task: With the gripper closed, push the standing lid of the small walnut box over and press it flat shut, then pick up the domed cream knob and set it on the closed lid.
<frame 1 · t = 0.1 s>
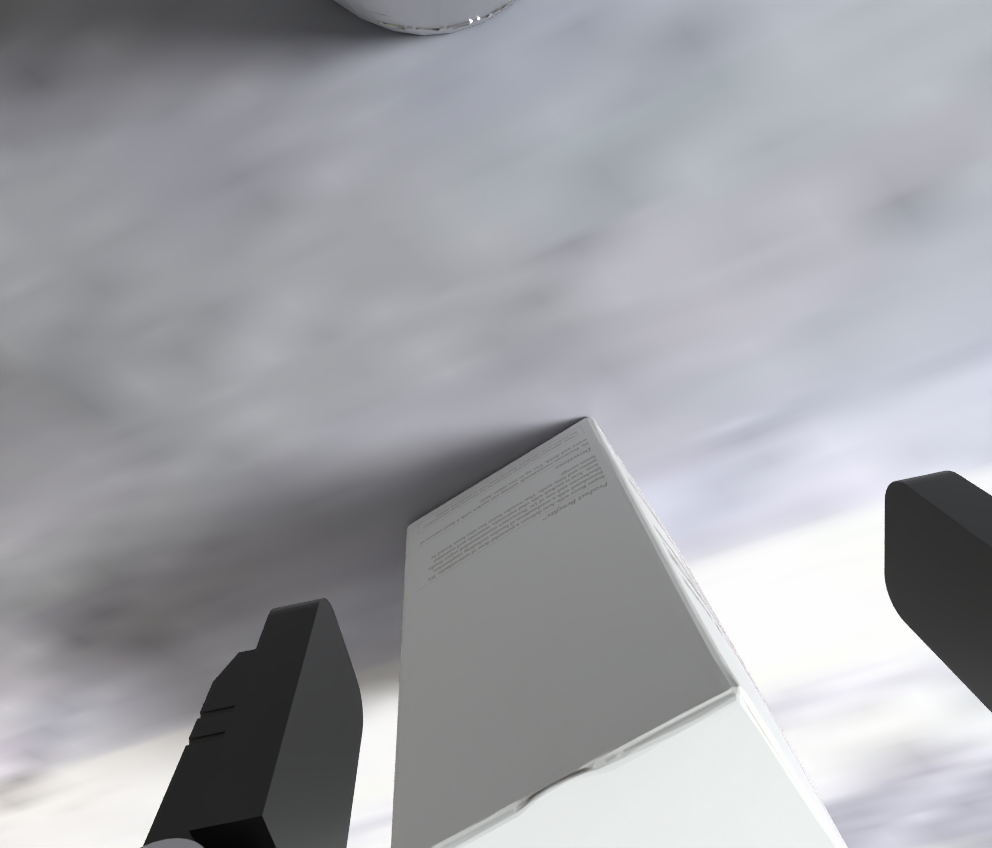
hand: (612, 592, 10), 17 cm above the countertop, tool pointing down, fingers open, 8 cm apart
supplement box: (551, 543, 31), on the countertop
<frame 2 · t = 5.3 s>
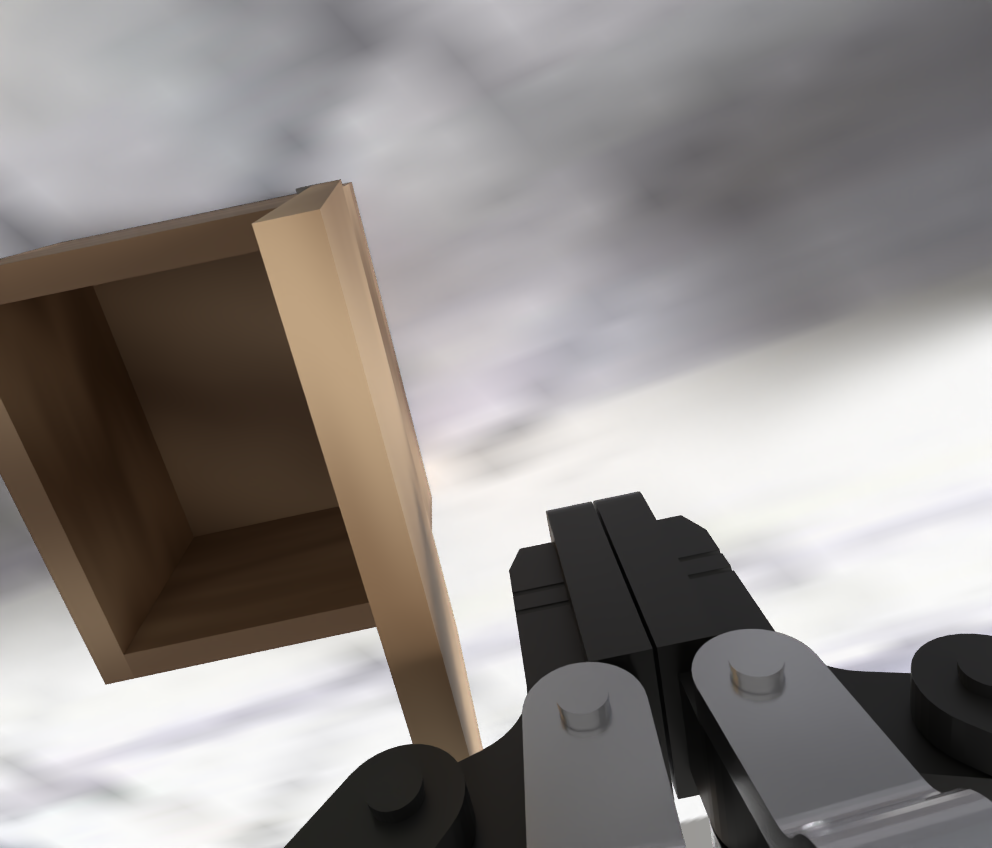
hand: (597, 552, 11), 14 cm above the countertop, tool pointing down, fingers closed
lid: (396, 526, 13), point 12 cm above the countertop, hinge at 95.5°, touching gripper
box: (262, 380, 24), on the countertop
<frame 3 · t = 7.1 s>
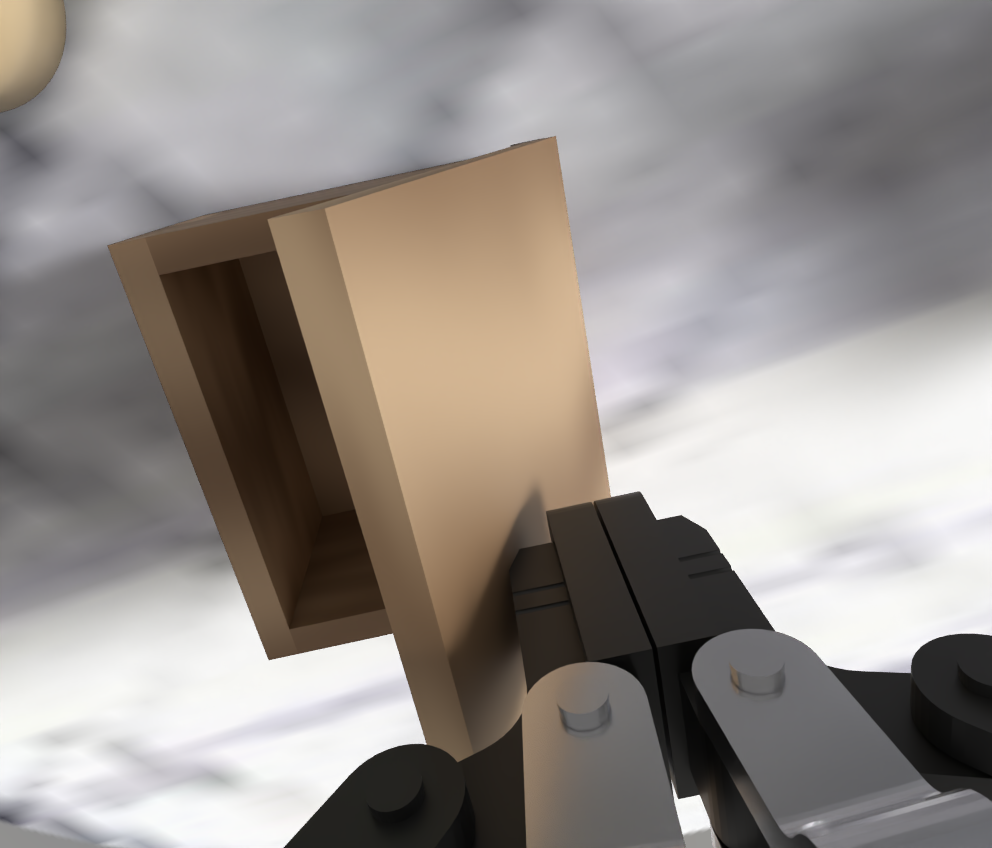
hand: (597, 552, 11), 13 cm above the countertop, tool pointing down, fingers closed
lid: (527, 502, 13), point 12 cm above the countertop, hinge at 68.3°, touching gripper
box: (396, 357, 24), on the countertop
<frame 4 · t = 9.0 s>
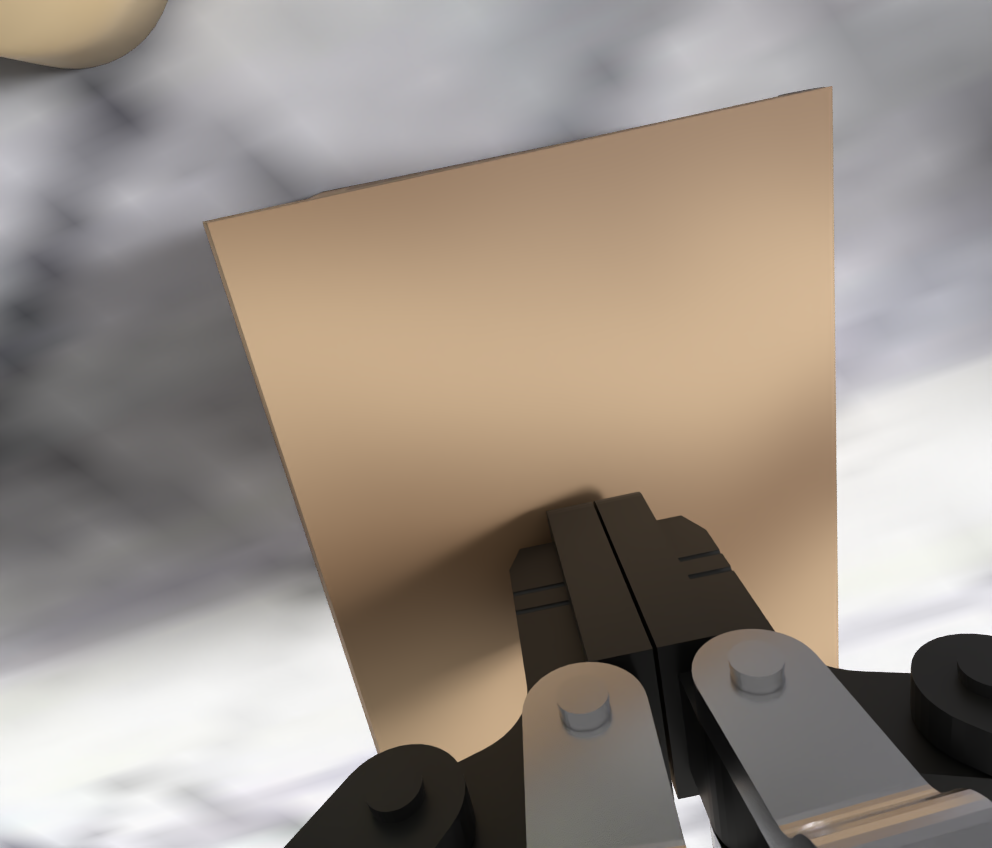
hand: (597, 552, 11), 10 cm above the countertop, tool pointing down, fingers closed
lid: (617, 506, 12), point 9 cm above the countertop, hinge at 21.2°, touching gripper
box: (529, 358, 21), on the countertop
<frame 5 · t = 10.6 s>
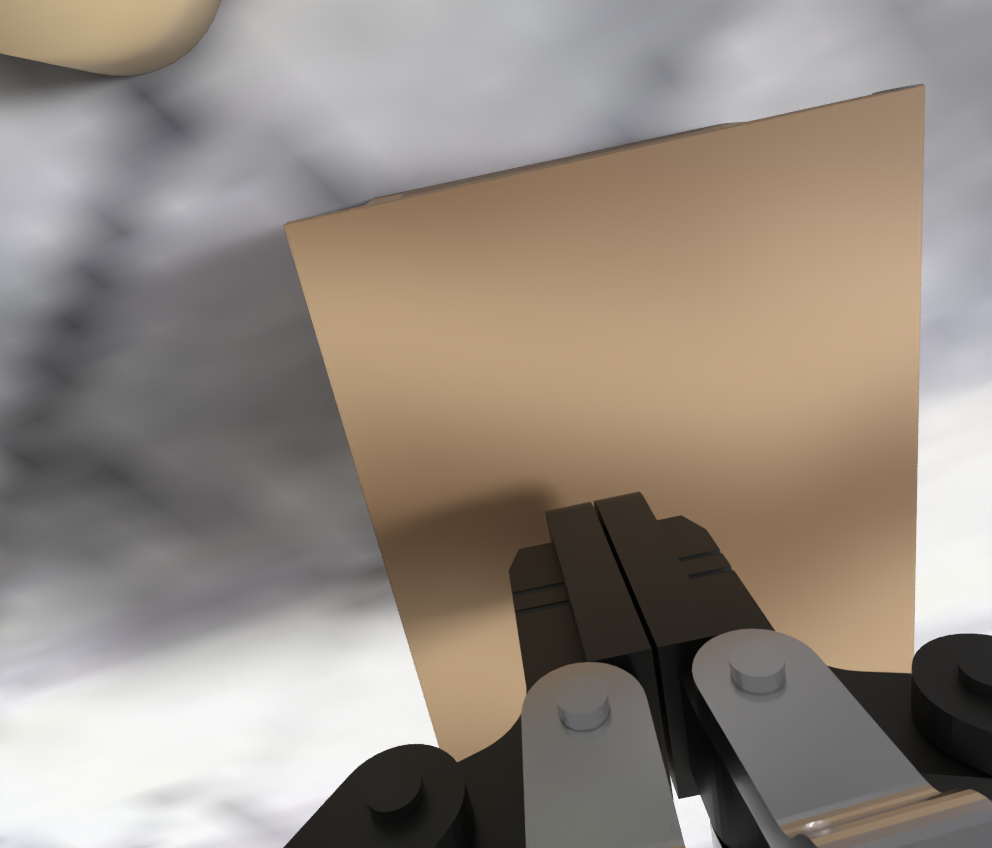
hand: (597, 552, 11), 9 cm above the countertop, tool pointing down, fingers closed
lid: (660, 493, 13), point 8 cm above the countertop, hinge at 5.0°
box: (582, 366, 20), on the countertop
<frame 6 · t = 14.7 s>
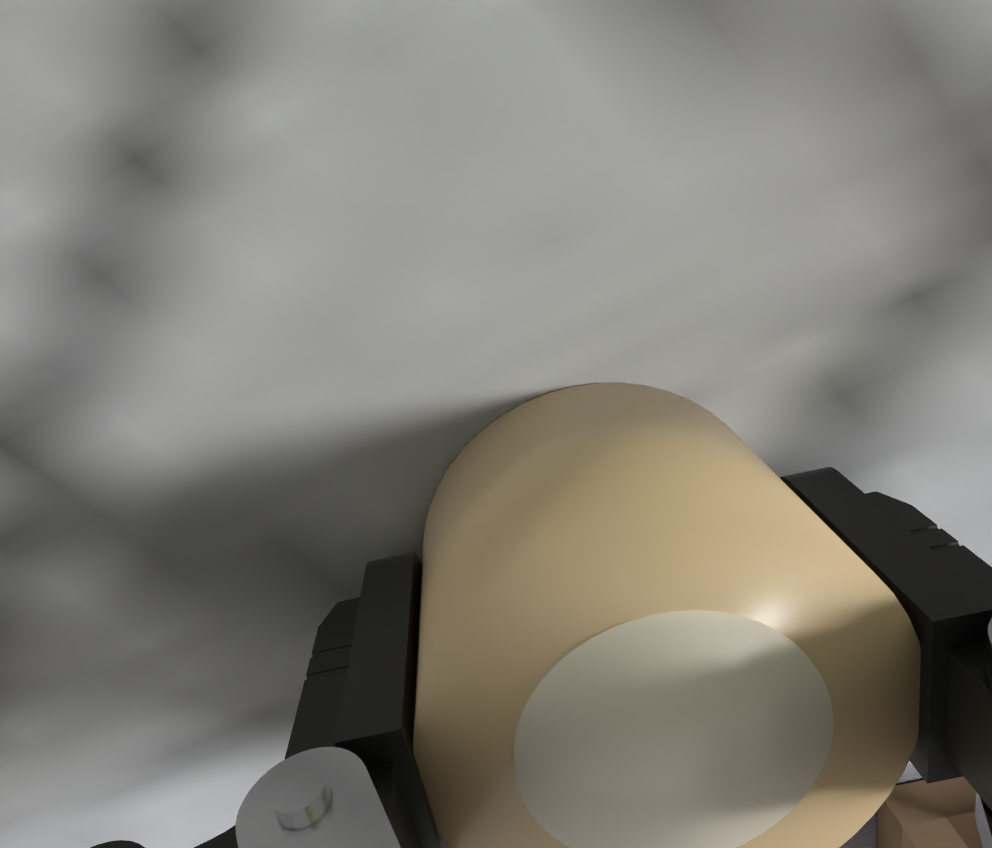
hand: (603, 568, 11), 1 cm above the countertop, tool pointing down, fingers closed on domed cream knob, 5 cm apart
domed cream knob: (597, 548, 11), on the countertop, touching gripper
when the fingers open (10 cm above the countertop, at t = 18.9 s): domed cream knob stays where it is, resting on lid.
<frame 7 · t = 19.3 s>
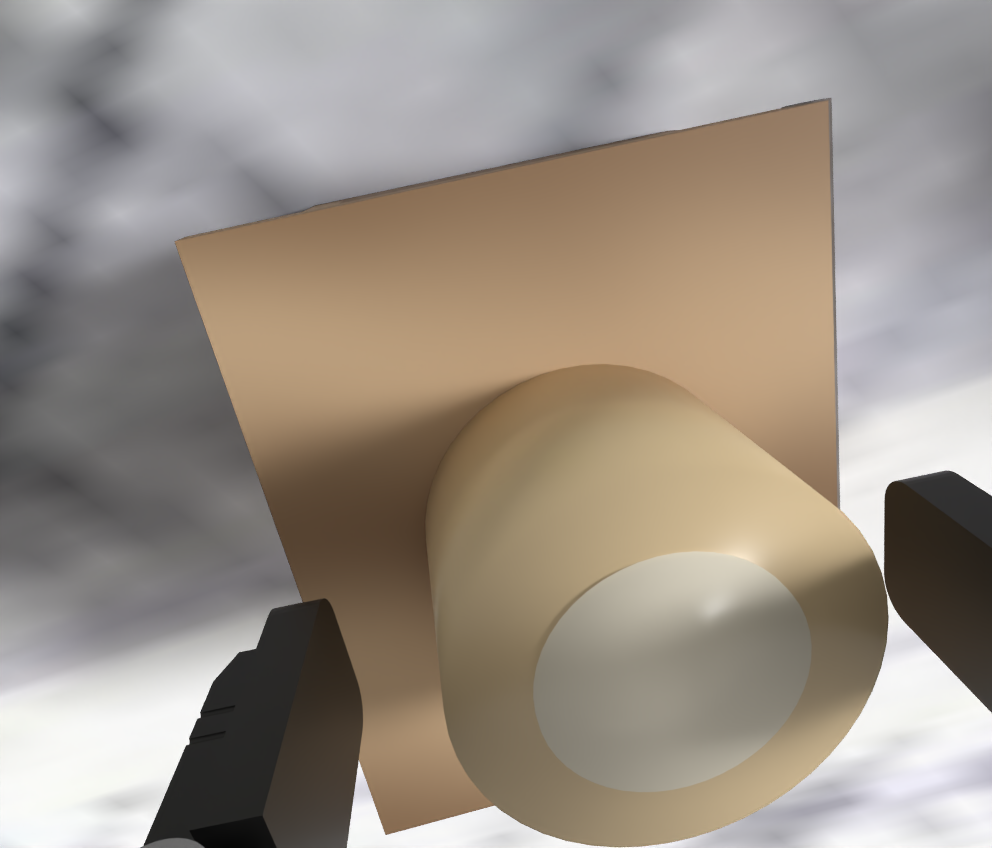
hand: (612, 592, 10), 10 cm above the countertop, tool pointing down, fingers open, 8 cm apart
lid: (577, 507, 13), point 8 cm above the countertop, hinge at 4.3°, touching domed cream knob
domed cream knob: (586, 519, 12), point 8 cm above the countertop, touching lid
box: (530, 374, 20), on the countertop
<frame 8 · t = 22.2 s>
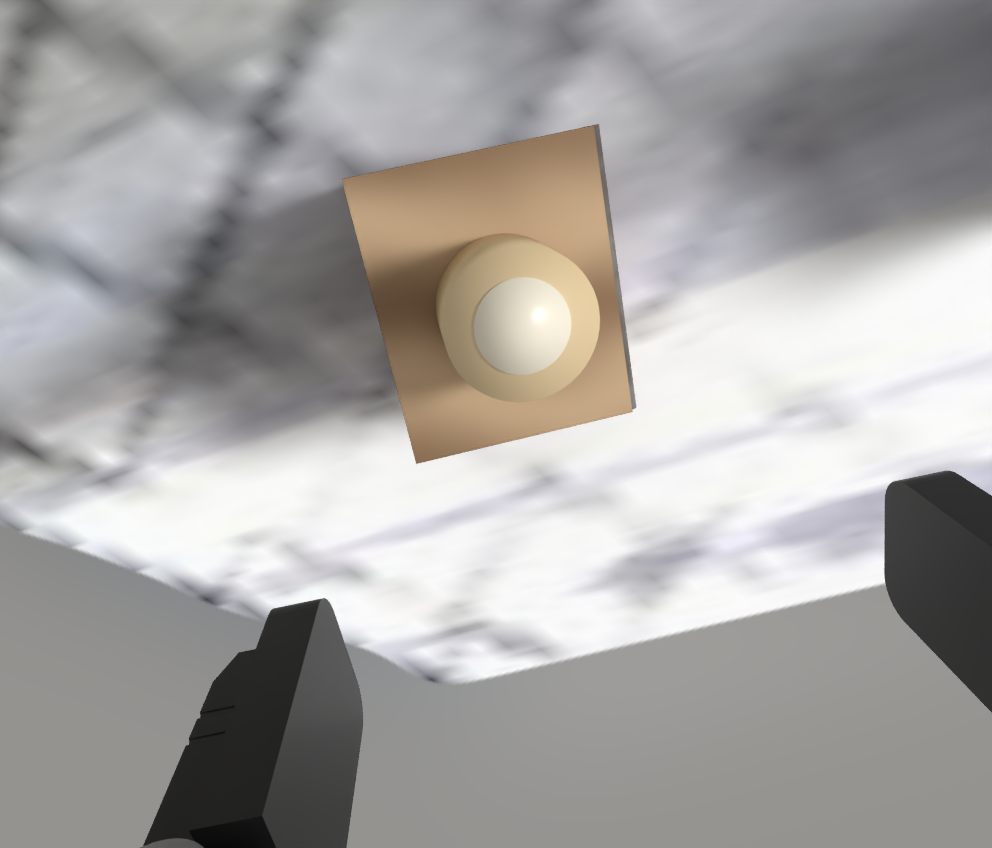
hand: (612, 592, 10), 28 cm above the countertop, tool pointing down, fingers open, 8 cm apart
lid: (501, 302, 29), point 8 cm above the countertop, hinge at 4.3°, touching domed cream knob
domed cream knob: (504, 304, 29), point 8 cm above the countertop, touching lid
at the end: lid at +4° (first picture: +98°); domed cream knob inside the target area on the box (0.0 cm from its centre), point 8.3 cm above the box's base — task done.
